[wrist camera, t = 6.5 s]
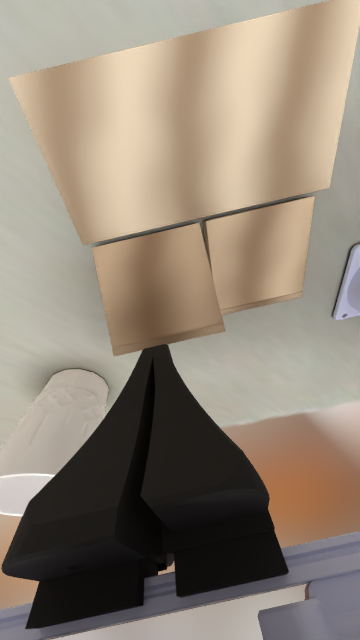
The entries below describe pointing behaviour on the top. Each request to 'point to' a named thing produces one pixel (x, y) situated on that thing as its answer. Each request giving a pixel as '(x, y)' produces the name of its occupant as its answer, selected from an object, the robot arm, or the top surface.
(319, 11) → the floor board
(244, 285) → the plank
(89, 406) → the white cup
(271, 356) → the top surface
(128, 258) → the plank
